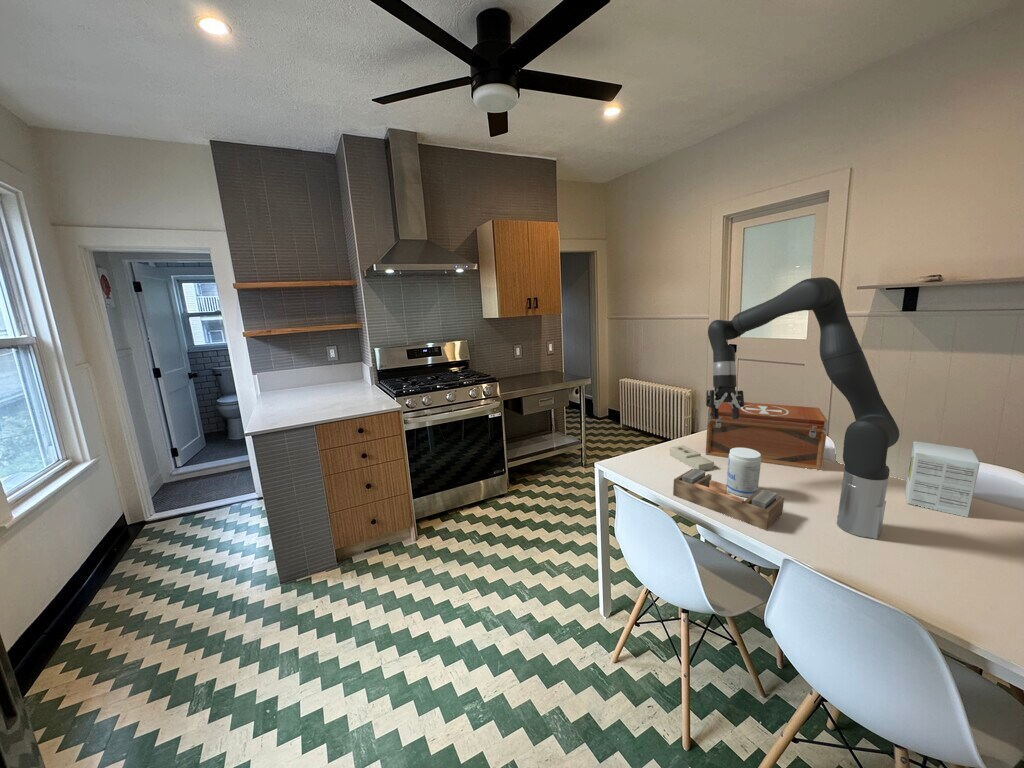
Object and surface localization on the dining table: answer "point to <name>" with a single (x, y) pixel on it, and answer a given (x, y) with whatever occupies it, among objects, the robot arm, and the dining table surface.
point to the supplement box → (942, 477)
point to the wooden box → (770, 433)
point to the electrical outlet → (691, 458)
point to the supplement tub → (743, 471)
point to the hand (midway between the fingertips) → (725, 418)
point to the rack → (729, 499)
